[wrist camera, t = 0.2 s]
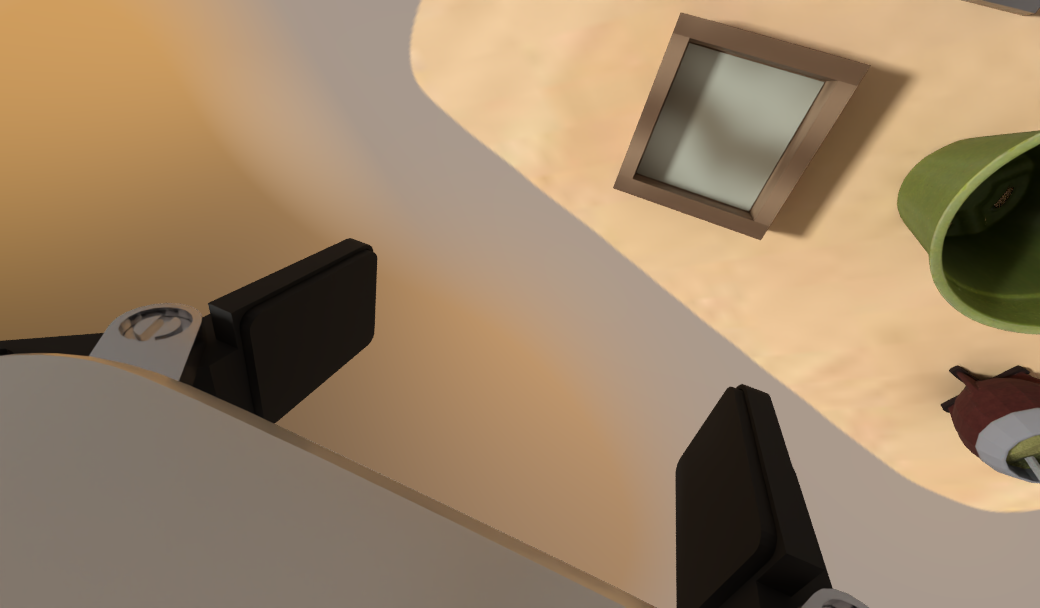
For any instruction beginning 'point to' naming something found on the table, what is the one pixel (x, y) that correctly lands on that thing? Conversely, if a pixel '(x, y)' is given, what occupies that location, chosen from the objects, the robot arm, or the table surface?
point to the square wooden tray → (733, 123)
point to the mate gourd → (1000, 420)
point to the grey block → (1011, 5)
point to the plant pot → (981, 226)
